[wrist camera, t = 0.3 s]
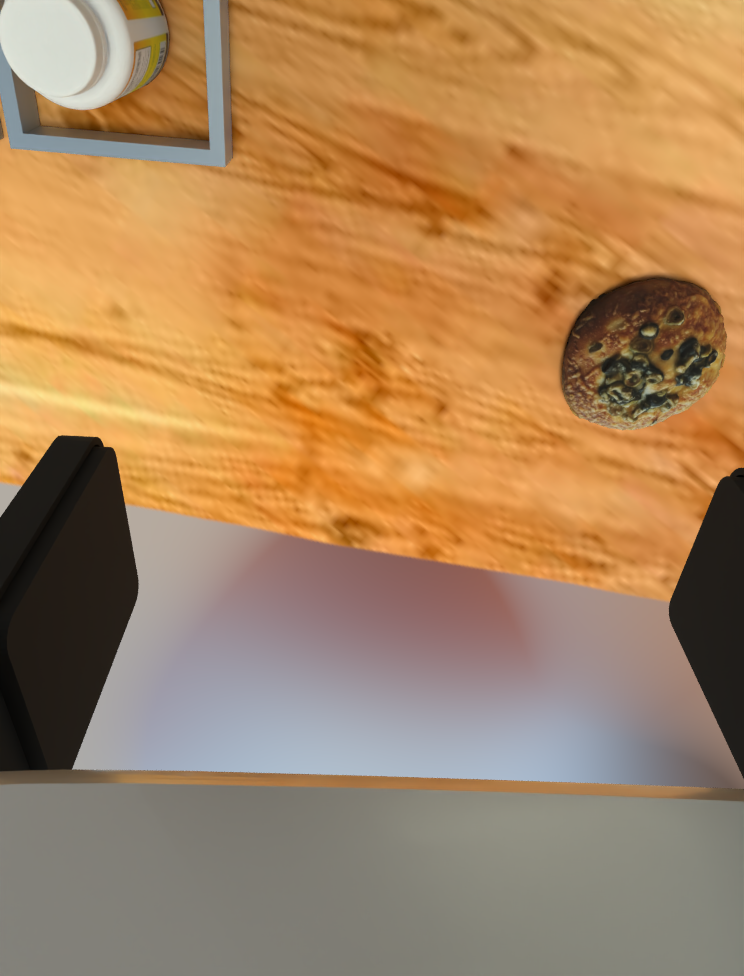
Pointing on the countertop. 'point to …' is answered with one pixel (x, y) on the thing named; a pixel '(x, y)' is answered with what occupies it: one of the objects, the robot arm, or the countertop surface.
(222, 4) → the blue-grey square frame
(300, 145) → the countertop surface
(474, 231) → the countertop surface
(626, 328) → the bread roll
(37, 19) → the supplement bottle
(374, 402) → the countertop surface
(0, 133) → the grey open square frame
